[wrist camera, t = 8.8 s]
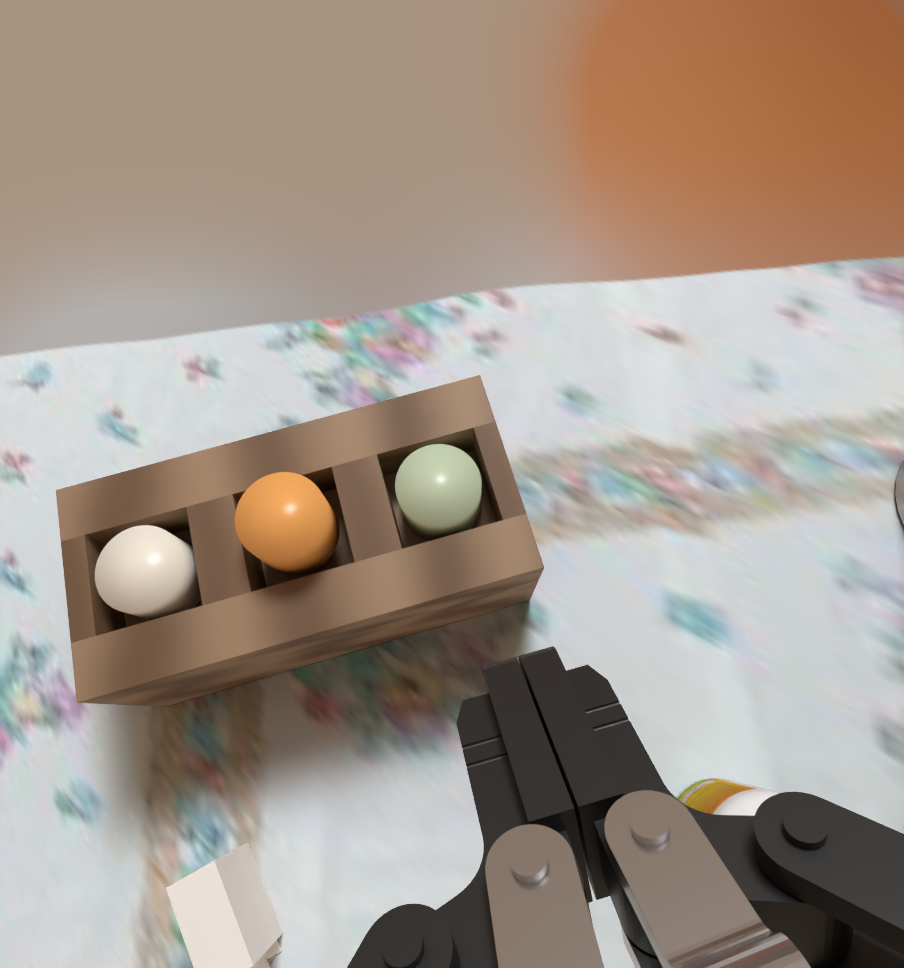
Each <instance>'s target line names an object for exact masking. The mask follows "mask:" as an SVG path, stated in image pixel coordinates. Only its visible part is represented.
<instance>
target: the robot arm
mask: <svg viewBox="0 0 904 968" xmlns="http://www.w3.org/2000/svg"><path fill="white" fill-rule="evenodd" d="M895 496H896V502H897V508H898V512H899V515H900V517H901V520H902V522H903V525H904V461H903V463H902V464H901V466H900V469H899V472H898V476H897V479H896V491H895ZM519 664H520V665H519ZM481 669H482V673H483V677H484V681H485V685H486V689H487V693H488V694H485V695H481V696H478V697H474V698H471V699H467V700H464V701H462V705H461V709H460V713H459V717H458V720H457V727H458V731H459V736H460V740H461V744H462V748H463V753H464V757H465V762H466V766H467V770H468V775H469V779H470V783H471V788H472V792H473V796H474V801H475V805H476V809H477V814H478V818H479V822H480V827H481V831H482V835H483V841H484V854H483V859H482V862H481V865H480V868H479V870H478V872H477V874H476V876H475V877H474V879H473V880H472V881H471V883H470V884H469V885H468V886H467V887H466V888H465V889H464V890H463V891H462V892H461V893H459V894H458V895H457V896H456V897H454V898H453V899H451V900H450V901H448V902H447V903H446V904H444V905H443V906H441V907H440V908H438V909H437V910H434V909H432V908H430V907H428V906H425V905H421V904H406V905H402V906H399V907H396V908H394V909H392V910H390V911H388V912H387V913H385V914H384V915H383V916H381V917H380V918H379V919H378V920H377V921H376V922H375V923H374V924H373V925H372V927H371V928H370V930H369V931H368V933H367V934H366V936H365V938H364V939H363V941H362V943H361V945H360V946H359V948H358V950H357V951H356V953H355V955H354V957H353V958H352V960H351V962H350V964H349V965H348V967H347V968H604V966H603V962H602V958H601V955H600V951H599V947H598V943H597V940H596V936H595V932H594V929H593V924H592V919H591V914H590V909H589V905H588V903H589V902H592V901H593V900H592V895H591V890H590V885H589V881H590V883H591V886H592V889H593V892H594V894H595V897H596V900H598V899H601V898H604V897H608V896H611V899H612V901H613V904H614V907H615V909H616V912H617V914H618V917H619V920H620V923H621V928H622V934H623V939H624V943H625V946H626V948H627V950H628V953H629V955H630V957H631V959H632V961H633V963H634V966H635V968H904V834H902V833H900V832H898V831H895V830H893V829H891V828H889V827H886V826H884V825H882V824H879V823H877V822H875V821H873V820H870V819H868V818H866V817H863V816H861V815H859V814H857V813H854V812H852V811H850V810H847V809H845V808H843V807H841V806H838V805H836V804H834V803H831V802H829V801H827V800H824V799H822V798H820V797H817V796H814V795H811V794H807V793H801V792H785V793H779V794H776V795H774V796H771V797H770V798H768V799H766V800H765V801H764V802H763V803H762V804H761V805H760V806H759V807H758V809H757V811H756V813H755V816H748V815H716V814H709V813H704V812H701V811H698V810H695V809H693V808H691V807H689V806H687V805H685V804H684V803H682V802H681V801H679V800H678V799H677V798H676V797H674V796H673V795H672V794H671V793H670V791H669V790H668V789H667V788H666V786H665V785H664V783H663V781H662V779H661V778H660V776H659V774H658V772H657V770H656V768H655V767H654V765H653V763H652V761H651V759H650V757H649V755H648V754H647V752H646V750H645V748H644V746H643V744H642V743H641V741H640V739H639V737H638V735H637V733H636V731H635V730H634V728H633V726H632V724H631V722H630V721H629V720H628V717H627V715H626V713H625V711H624V709H623V708H622V706H621V704H620V703H619V700H618V698H617V696H616V695H615V693H614V691H613V689H612V687H611V685H610V684H609V682H608V680H607V679H606V678H604V677H603V676H602V675H600V674H599V673H598V672H596V671H595V670H594V669H592V668H591V667H590V666H588V665H585V666H582V667H578V668H575V669H571V670H568V671H566V670H565V668H564V666H563V663H562V661H561V659H560V657H559V655H558V653H557V651H556V649H555V647H549V648H546V649H542V650H539V651H535V652H532V653H528V654H524V655H521V656H519V663H518V660H517V658H516V657H515V658H511V659H508V660H504V661H501V662H497V663H493V664H490V665H486V666H483V667H481ZM588 878H589V880H588Z"/></svg>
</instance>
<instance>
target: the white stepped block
mask: <svg viewBox="0 0 904 968" xmlns="http://www.w3.org/2000/svg"><path fill="white" fill-rule="evenodd" d="M166 889H167V892H168V895H169V898H170V901H171V904H172V907H173V910H174V913H175V916H176V918H177V921H178V924H179V927H180V930H181V933H182V936H183V939H184V942H185V944H186V947H187V950H188V953H189V956H190V959H191V962H192V965H193V968H270V965H269V963H268V959H269V958H271V957H273V956H274V955H276V954H278V953H279V952H281V949H280V946H279V944H278V941H277V939H278V938H279V937H280V936H281V935H282V934H283V932H282V929H281V927H280V924H279V921H278V919H277V916H276V914H275V911H274V909H273V906H272V903H271V901H270V898H269V896H268V893H267V891H266V888H265V885H264V883H263V880H262V878H261V875H260V873H259V870H258V867H257V865H256V862H255V860H254V857H253V855H252V852H251V849H250V847H249V844H248V843H246V844H245V845H243V846H241V847H239V848H237V849H235V850H233V851H231V852H230V853H228V854H226V855H224V856H222V857H220V858H218V859H216V860H215V861H213V862H211V863H209V864H208V865H206V866H204V867H202V868H201V869H199V870H197V871H195V872H193V873H192V874H190V875H188V876H186V877H185V878H183V879H181V880H179V881H178V882H176V883H174V884H172V885H171V886H169V887H167V888H166Z"/></svg>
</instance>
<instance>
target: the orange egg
mask: <svg viewBox="0 0 904 968" xmlns="http://www.w3.org/2000/svg"><path fill="white" fill-rule="evenodd" d="M235 528H236V532H237V535H238V537H239V540H240V541H241V543H242V544H243V545H244V547H245V548H246V549H247V550H248V551H249V552H251V553H252V554H253V555H255V556H256V557H257V558H259V559H260V560H262V561H263V562H264V563H266V564H267V565H268V566H270V567H271V568H273V569H274V570H276V571H278V572H281V573H284V574H289V575H299V574H305V573H308V572H311V571H313V570H315V569H317V568H319V567H320V566H322V565H323V564H324V563H325V562H326V561H327V560H328V559H329V558H330V557H331V555H332V554H333V552H334V550H335V548H336V546H337V543H338V540H339V533H340V529H339V521H338V518H337V516H336V513H335V512H334V510H333V509H332V507H331V506H330V504H329V503H328V501H327V500H326V498H325V497H324V495H323V494H322V492H321V491H320V490H319V488H318V487H317V486H316V485H315V484H314V483H313V482H312V481H311V480H309V479H308V478H306V477H304V476H302V475H300V474H296V473H291V472H278V473H273V474H270V475H267V476H264V477H262V478H260V479H259V480H257V481H256V482H254V483H253V484H252V485H251V486H250V487H249V488H248V489H247V490H246V491H245V492H244V494H243V495H242V497H241V499H240V500H239V503H238V505H237V508H236V513H235Z"/></svg>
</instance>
